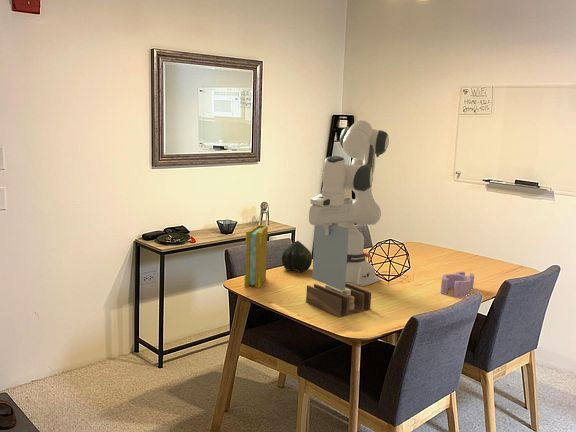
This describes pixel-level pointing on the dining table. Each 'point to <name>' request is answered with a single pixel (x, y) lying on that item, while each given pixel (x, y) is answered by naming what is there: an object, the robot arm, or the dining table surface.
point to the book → (256, 255)
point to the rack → (338, 300)
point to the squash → (297, 257)
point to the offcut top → (345, 292)
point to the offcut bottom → (351, 306)
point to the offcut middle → (351, 299)
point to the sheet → (330, 256)
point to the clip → (457, 283)
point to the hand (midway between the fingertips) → (330, 234)
